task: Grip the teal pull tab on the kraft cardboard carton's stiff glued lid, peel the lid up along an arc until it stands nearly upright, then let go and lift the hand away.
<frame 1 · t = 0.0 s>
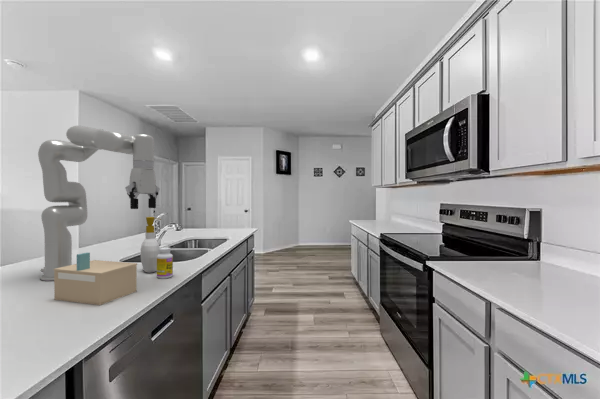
hand: (143, 208, 129), 31 cm above the table, tool pointing down, fingers open, 9 cm apart
soap bottle: (151, 271, 155), on the table
carton: (97, 295, 117), on the table
lid: (97, 259, 117), point 13 cm above the table, hinge at 0.0°
supplement bottle: (164, 277, 143), on the table
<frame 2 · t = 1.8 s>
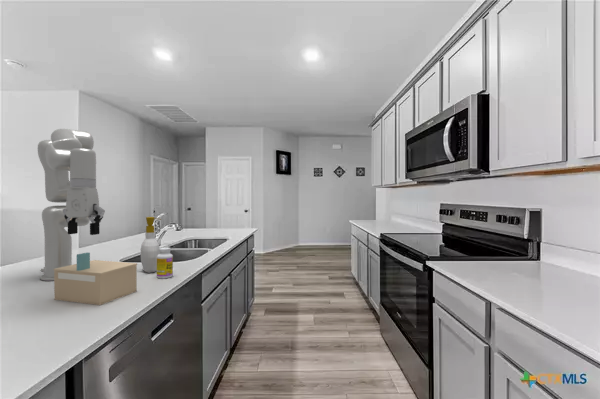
hand: (83, 234, 111), 23 cm above the table, tool pointing down, fingers open, 9 cm apart
nothing on the table moved.
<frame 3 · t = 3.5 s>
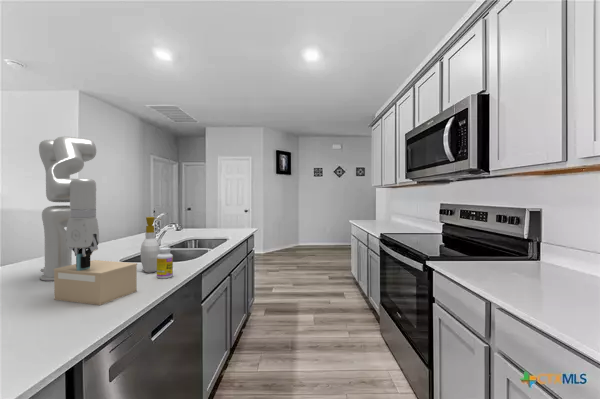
hand: (83, 267, 111), 12 cm above the table, tool pointing down, fingers closed
lid: (97, 259, 117), point 13 cm above the table, hinge at 0.0°, touching gripper
everything else where it was.
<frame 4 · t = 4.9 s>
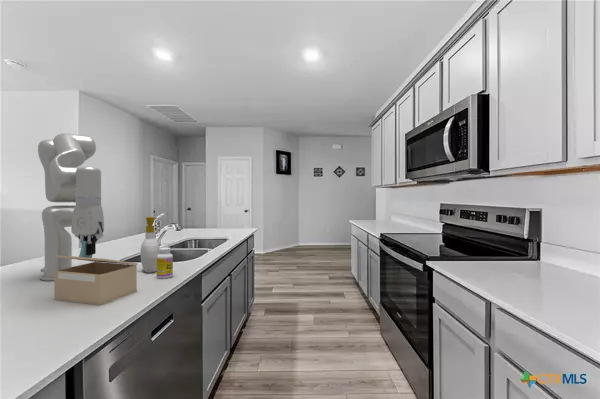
hand: (88, 254, 113), 16 cm above the table, tool pointing down, fingers closed
lid: (100, 252, 118), point 15 cm above the table, hinge at 17.0°, touching gripper
everything else where it was.
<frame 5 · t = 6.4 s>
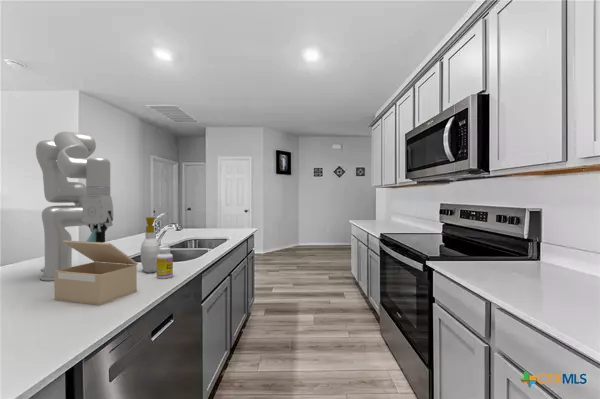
hand: (98, 242, 117), 19 cm above the table, tool pointing down, fingers closed
lid: (105, 246, 120), point 17 cm above the table, hinge at 37.0°, touching gripper
everything else where it was.
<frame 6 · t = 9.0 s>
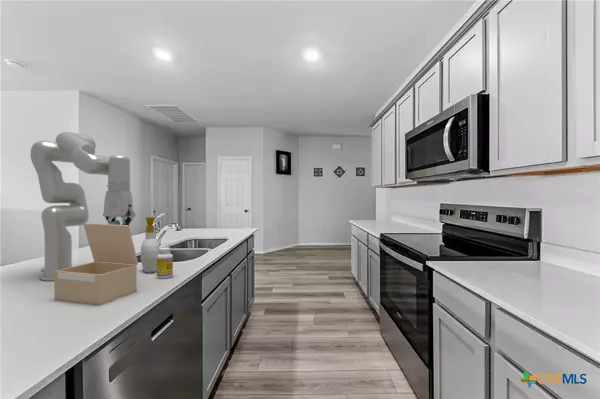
hand: (119, 233, 126), 22 cm above the table, tool pointing down, fingers open, 5 cm apart
lid: (116, 241, 125), point 19 cm above the table, hinge at 72.8°
everything else where it was.
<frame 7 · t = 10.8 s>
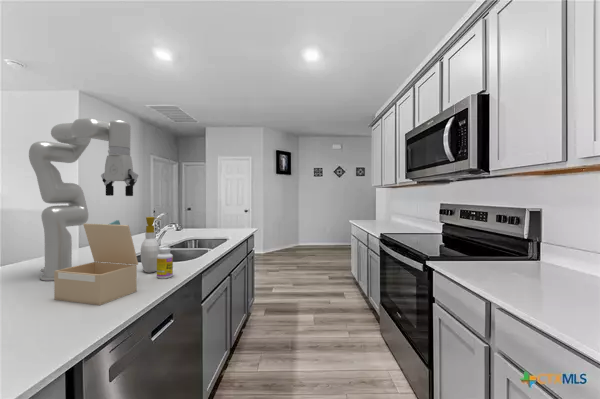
hand: (119, 195, 127), 36 cm above the table, tool pointing down, fingers open, 9 cm apart
nothing on the table moved.
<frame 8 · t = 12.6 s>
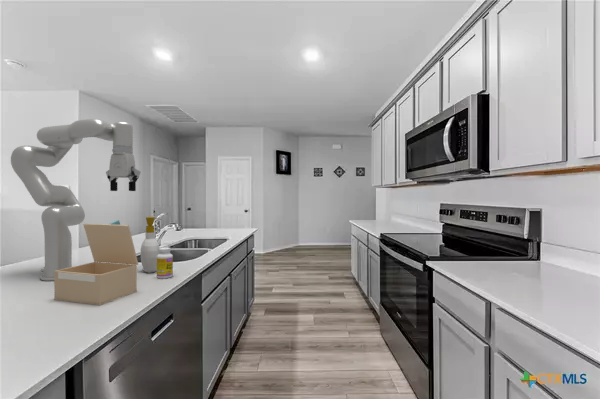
hand: (123, 190, 139), 38 cm above the table, tool pointing down, fingers open, 9 cm apart
nothing on the table moved.
at the end: lid at +73° (first picture: +0°); the gripper is holding nothing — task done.
